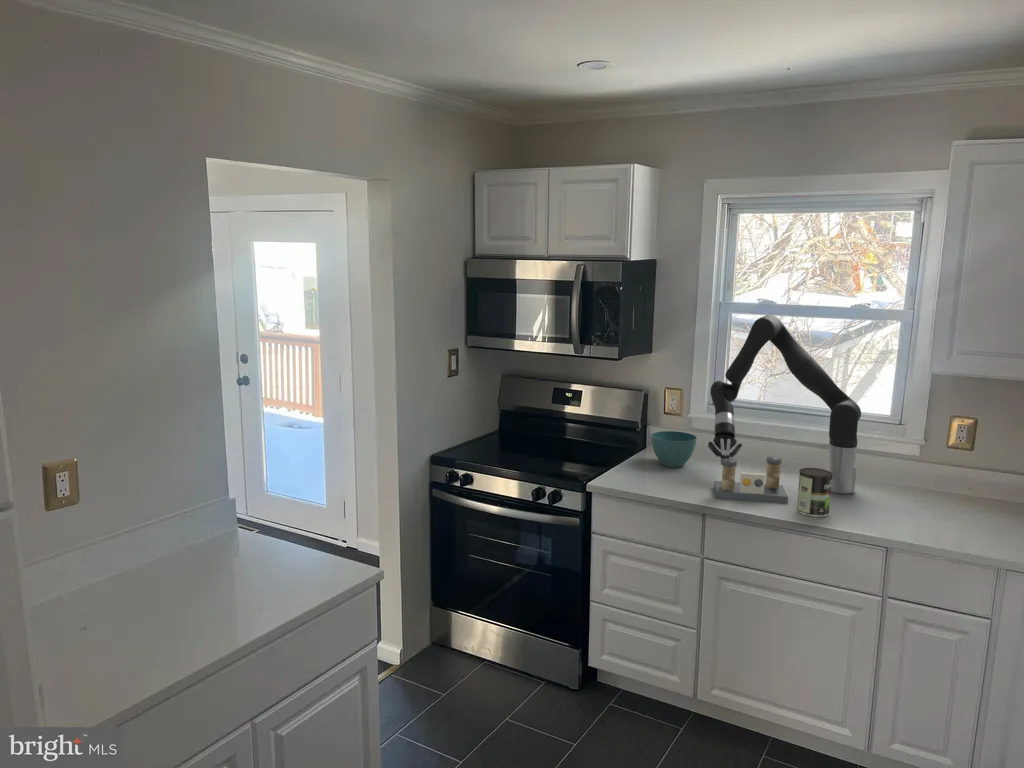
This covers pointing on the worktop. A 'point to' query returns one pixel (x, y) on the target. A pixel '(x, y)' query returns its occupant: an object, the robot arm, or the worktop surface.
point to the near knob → (773, 472)
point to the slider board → (751, 490)
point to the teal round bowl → (673, 447)
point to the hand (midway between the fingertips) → (725, 465)
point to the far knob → (728, 474)
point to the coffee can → (814, 492)
